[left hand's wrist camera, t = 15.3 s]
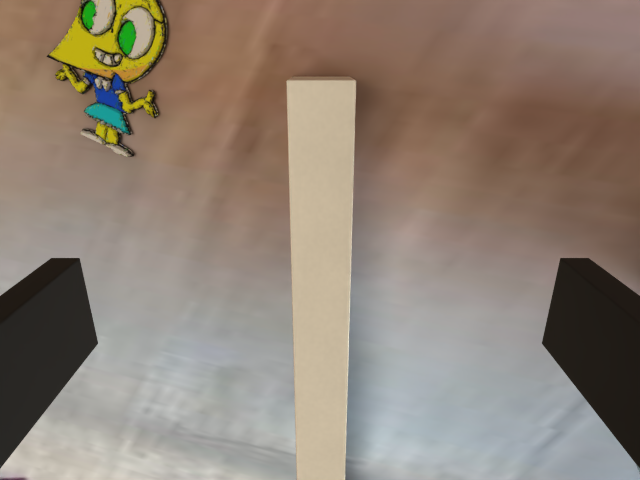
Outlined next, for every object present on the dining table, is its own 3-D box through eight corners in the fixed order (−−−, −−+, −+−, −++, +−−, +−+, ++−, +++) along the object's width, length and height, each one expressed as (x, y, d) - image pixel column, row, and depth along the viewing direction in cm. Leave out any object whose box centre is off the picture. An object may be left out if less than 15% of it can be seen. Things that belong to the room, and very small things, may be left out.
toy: (25, 110, 39) (73, -72, 34) (31, 109, 40) (78, -69, 35) (137, 163, 41) (198, -3, 36) (140, 161, 42) (200, -1, 37)
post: (292, 76, 39) (286, 80, 32) (350, 76, 39) (356, 80, 32) (302, 550, 62) (300, 612, 55) (338, 550, 62) (341, 612, 55)
